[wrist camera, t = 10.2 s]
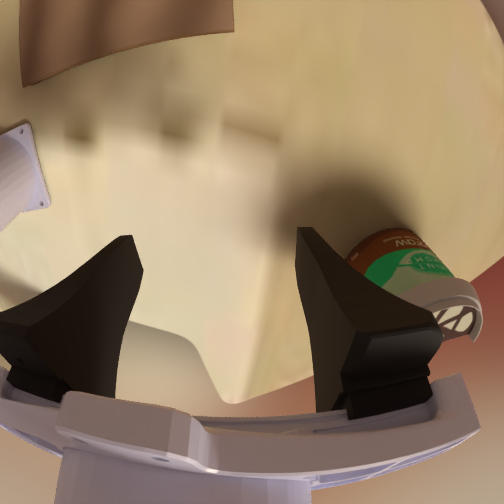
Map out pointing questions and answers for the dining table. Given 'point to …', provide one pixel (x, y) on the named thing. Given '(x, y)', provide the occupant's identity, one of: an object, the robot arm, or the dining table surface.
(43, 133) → the dining table surface
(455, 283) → the food container
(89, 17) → the serving board
